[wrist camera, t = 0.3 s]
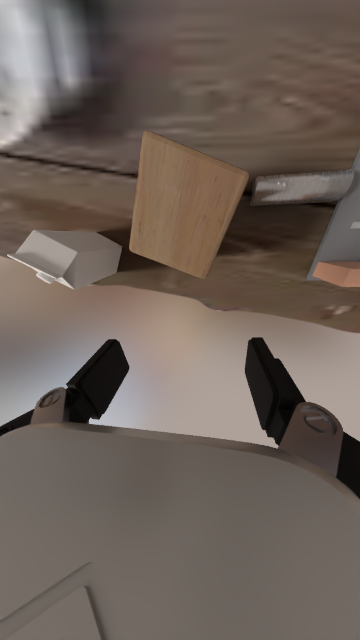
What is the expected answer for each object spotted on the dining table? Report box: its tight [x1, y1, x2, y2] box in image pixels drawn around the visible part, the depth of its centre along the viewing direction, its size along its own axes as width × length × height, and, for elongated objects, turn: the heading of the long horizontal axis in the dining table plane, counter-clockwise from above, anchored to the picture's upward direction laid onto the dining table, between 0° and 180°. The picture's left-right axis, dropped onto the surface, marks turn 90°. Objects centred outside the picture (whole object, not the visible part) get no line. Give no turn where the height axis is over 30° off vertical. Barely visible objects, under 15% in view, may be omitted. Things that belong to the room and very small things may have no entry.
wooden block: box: [129, 131, 249, 278], centre depth 23 cm, size 10×10×20 cm
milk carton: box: [7, 230, 122, 289], centre depth 29 cm, size 7×7×19 cm
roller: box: [250, 169, 354, 206], centre depth 25 cm, size 4×14×4 cm, turn 91°
